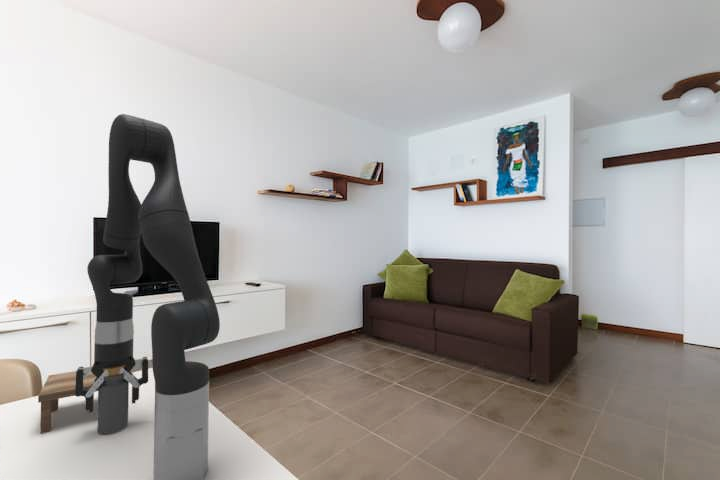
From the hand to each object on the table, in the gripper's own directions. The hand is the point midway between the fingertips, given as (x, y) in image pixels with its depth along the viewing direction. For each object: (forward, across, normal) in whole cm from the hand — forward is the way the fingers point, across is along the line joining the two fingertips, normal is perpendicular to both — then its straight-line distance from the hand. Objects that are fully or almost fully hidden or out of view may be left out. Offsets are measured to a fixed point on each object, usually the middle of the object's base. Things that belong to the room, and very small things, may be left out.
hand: (113, 406), depth 80 cm
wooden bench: (+5, -7, +13) cm, 16 cm away
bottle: (+5, 0, 0) cm, 5 cm away
